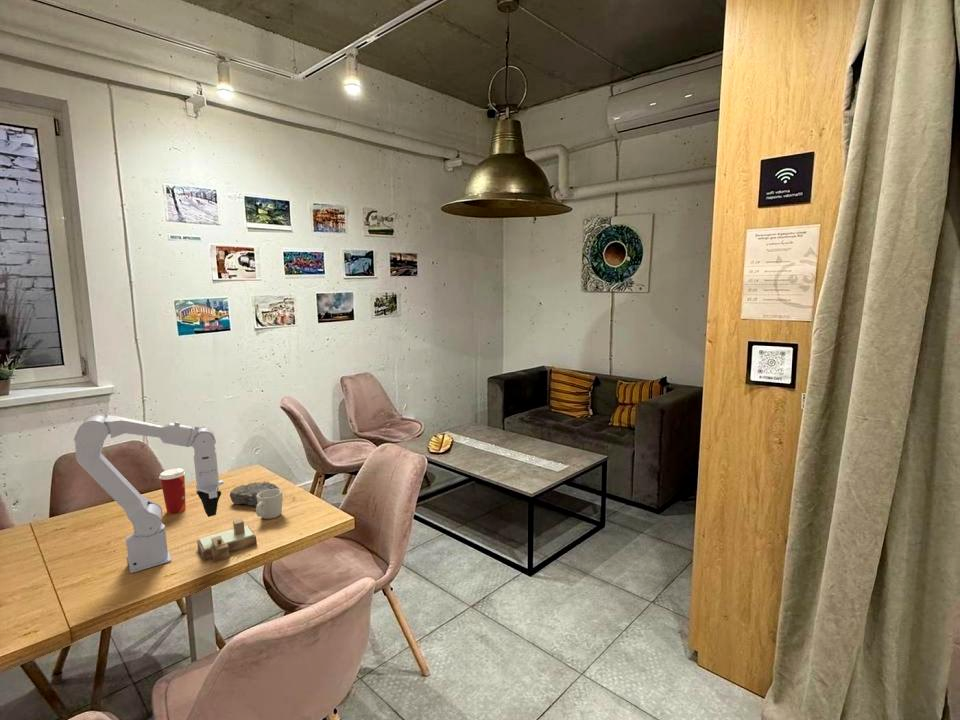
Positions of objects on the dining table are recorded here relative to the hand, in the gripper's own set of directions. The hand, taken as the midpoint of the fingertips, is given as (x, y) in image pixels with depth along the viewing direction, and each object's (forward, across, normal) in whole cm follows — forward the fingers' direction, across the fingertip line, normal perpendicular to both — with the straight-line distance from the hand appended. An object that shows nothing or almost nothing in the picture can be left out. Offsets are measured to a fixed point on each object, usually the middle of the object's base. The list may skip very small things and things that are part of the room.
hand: (210, 514), depth 146 cm
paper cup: (+10, +37, +5) cm, 39 cm away
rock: (+10, +27, -19) cm, 34 cm away
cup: (+10, +9, -18) cm, 23 cm away
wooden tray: (+10, -4, -3) cm, 11 cm away
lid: (+7, -3, -3) cm, 8 cm away
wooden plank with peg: (+6, -7, 0) cm, 10 cm away
